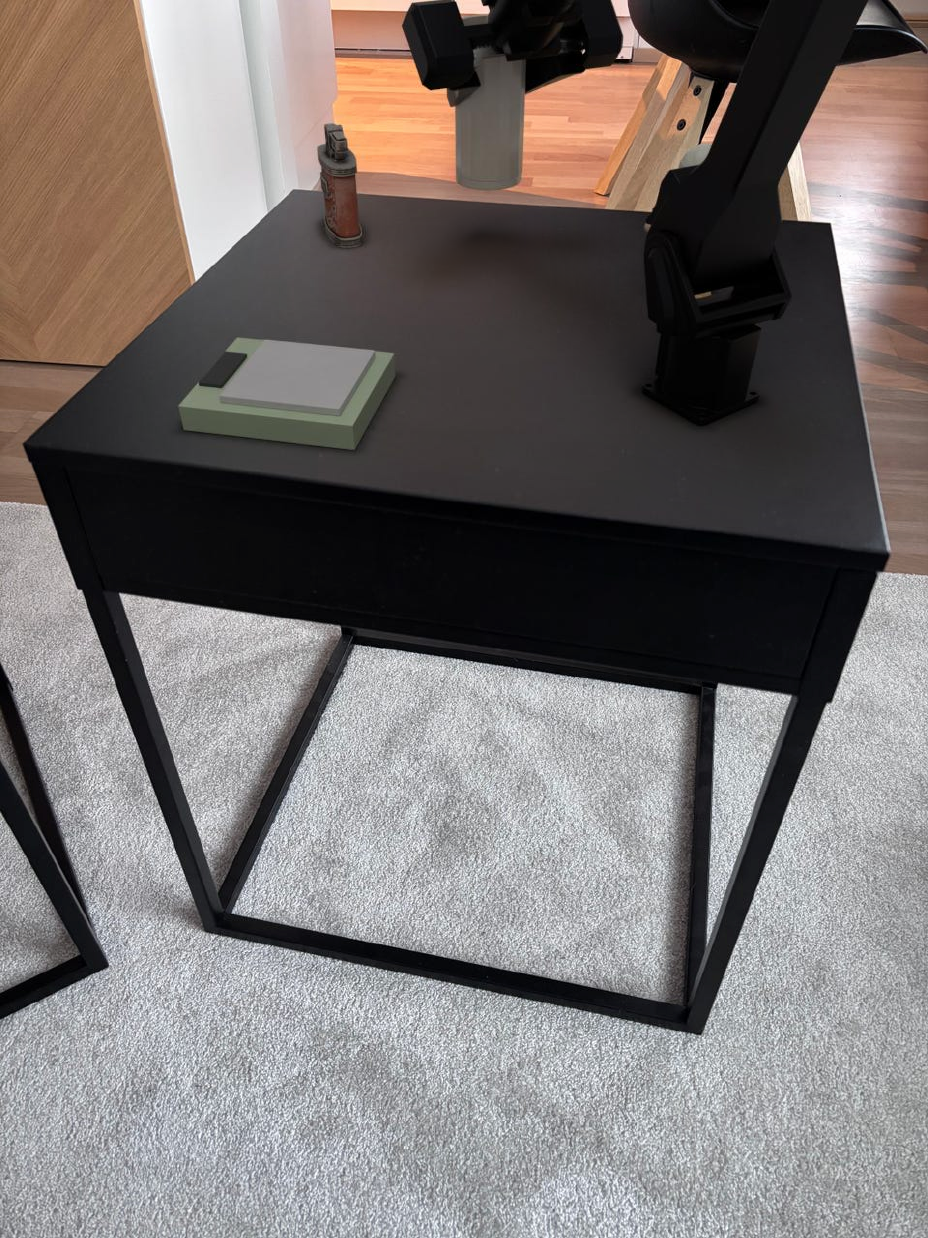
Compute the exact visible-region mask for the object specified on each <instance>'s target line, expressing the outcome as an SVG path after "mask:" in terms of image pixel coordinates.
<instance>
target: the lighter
mask: <svg viewBox="0 0 928 1238" xmlns="http://www.w3.org/2000/svg"><path fill="white" fill-rule="evenodd" d="M323 130H324V131H323V132H324V141H325V143H323V144H320V145H318V146H317V149H316V151H317V161H318V163H319V166H320V172H319V180H320V188H321V192H322V193H323V201H324V211H325V213H324V217H323V221H324V229H325V233H326V235H327V237H328V238H329V240H330V241H332V242H333V244H335V245H336V246H337V247H340V248H345V249H346V248H356V247H359V246H361V245H362V244H363V232H362V230H363V229H362V226H361V224H360V217H359V206H358V205H359V204H358V191H357V180H356V174H357V173H358V164H357V157H356V155H355V153H354V152H353V151H352V150H351V149H350V148H349V147H348V145H349V144H348V138H347V137H346V136H345V132H344V129H343V125H342V124H336V123H333V122H332V123H331V122H330V123H324V124H323Z"/></svg>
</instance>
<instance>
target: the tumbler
mask: <svg viewBox="0 0 928 1238" xmlns="http://www.w3.org/2000/svg"><path fill="white" fill-rule="evenodd" d="M487 16H488V14H476V15H475V14H474V15H473V14H472V15H467V16H463V17H462V16H461V17H462V20H463V23H464V26H470V25H479V24H488V22H487ZM476 72H477V74H478V77H479V80H480V83H481V86H480V87H479V88H478V89H477V90H476V91H474V92H473V93H472V94H471V95H469V96H468V97H467V98H466V99H465V100H463V101H462V102H461V103H459V104H458V105H456V106H455V107H454V135H455V136H454V142H455V143H454V144H455V145H454V146H455V147H454V149H455V150H454V151H455V152H454V153H455V154H454V155H455V181H456V183H457V184H458V185H460V186H462V187H464V188H467V189H471V190H477V191H500V190H506V189H510V188H514V187H516V186H517V185H519V184H521V182H522V176H523V175H522V174H523V159H524V131H525V130H524V129H525V106H526V105H525V101H526V95H525V75H526V59H525V60H517V61H509V62H507V59H506V56H503V57H495V58H487V59H482V60H481V63H480V65H479V67H477V69H476Z"/></svg>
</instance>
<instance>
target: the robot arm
mask: <svg viewBox="0 0 928 1238" xmlns="http://www.w3.org/2000/svg"><path fill="white" fill-rule="evenodd" d="M480 2H481V5H482V6H483V7H488V9H489V12H488V14H487V15H488V16H487V22H488V24H479V25H470V26H464V23H463V20H462V15H461V11H460V8H459V6H458V2H457V1H456V0H425V1H417V2H411V3H410V5H409V7H408V8H407V11H406V14H405V16H404V19H403V22H402V25H401V29H402V30H403V33H404V36H405V40H406V42H407V45H408V49H409V51H410V54H411V57H412V60H413V63H414V65H415V69H416V71H417V74H418V77H419V80H420V83H421V85H422V86H423V87H424V88H426V89H427V90H429V91H431V92H432V91H437V90H445V89H446V99H447V102H448V104H449V107H450V108H455V106H456V105H458V104H459V103H461V102H462V101H463V100H465V99H466V98H467V97H468V96H469V95H471V94H472V93H473V92H474V91H476V90H477V89H478V88H479V87H480V86H481V83H480V80H479V77H478V74H477V72H476V69H477V67H479V65H480V63H481V60H482V59H487V58H495V57H503V56H506V59H507V62H509V61H517V60H525V59H526V75H525V96H527V95H529V94H531V93H532V92H535V91H538V90H540V89H542V88H545V87H547V86H550V85H552V84H555V83H558V82H560V81H563V80H566V79H568V78H570V77H573V76H575V75H581V74H583V73H584V72H586V70H592V69H599V68H600V69H601V68H607V67H611V66H612V65H613V64H614V62H615V61H616V59H617V58H618V56H619V55H620V54H621V52H622V49H623V47H624V38H625V37H624V34H623V29H622V28H621V25H620V21H619V19H618V16H617V13H616V10H615V6H614V4H613V1H612V0H480ZM868 2H869V0H770V1H769V3H768V6H767V8H766V10H765V12H764V15H763V18H762V20H761V22H760V25H759V28H758V30H757V33H756V35H755V37H754V40H753V42H752V44H751V47H750V49H749V52H748V55H747V57H746V59H745V62H744V64H743V67H742V69H741V71H740V74H739V77H738V79H737V81H736V84H735V86H734V89H733V92H732V94H731V96H730V99H729V101H728V103H727V106H726V108H725V111H724V113H723V116H722V118H721V121H720V123H719V126H718V128H717V130H716V132H715V135H714V138H713V140H712V142H711V144H710V145H711V147H710V150H709V152H708V154H707V156H706V158H705V159H704V161H703V162H702V163H701V164H699V165H694V166H688V167H683V168H679V167H678V168H673V169H672V168H671V169H669V170H668V171H667V173H665V175H664V177H663V178H662V180H661V182H660V186H659V190H658V194H657V198H656V200H655V201H656V202H655V204H654V206H653V207H654V208H653V207H652V208H653V210H652V209H651V212H650V213H649V214H648V215H647V216H646V218H645V224H649V225H651V226H650V228H649V230H648V233H647V232H646V236H645V241H644V248H643V253H642V255H643V269H644V270H643V272H644V284H645V299H646V312H647V318H648V319H649V320H650V321H651V322H653V323H654V324H655V326H656V329H655V332H657V333H658V334H659V335H660V336H659V341H658V350H657V356H656V363H655V369H654V375H655V376H656V378H653V379H650V380H648V381H646V382H643V383H642V385H641V391H642V392H643V393H644V394H646V395H647V396H648V397H651V398H652V399H654V400H656V401H658V402H660V403H661V404H663V405H665V406H667V407H668V408H670V409H672V410H674V411H675V412H677V413H678V414H681V415H682V416H684V417H685V418H687V419H689V420H691V421H693V422H694V423H696V424H699V425H705V424H709V423H710V422H712V421H714V420H717V419H719V418H721V417H724V416H726V415H728V414H731V413H733V412H735V411H737V410H740V409H742V408H744V407H747V406H749V405H751V404H753V403H756V402H758V401H759V398H760V395H761V394H760V392H759V391H757V390H755V389H754V388H751V387H749V386H750V382H751V378H752V373H753V368H754V365H755V360H756V355H757V351H758V346H759V341H760V337H761V332H762V327H760V326H759V325H757V324H762V323H766V322H768V321H778V320H780V319H781V318H782V317H783V315H784V313H785V312H786V311H787V308H788V307H789V305H790V303H791V301H792V298H793V295H792V292H791V289H790V286H789V283H788V280H787V277H786V274H785V272H784V268H783V266H782V262H781V260H780V257H779V254H778V251H777V249H776V248H777V247H776V246H775V243H776V240H777V238H778V235H779V232H780V229H781V227H782V222H783V213H782V205H781V197H780V189H779V185H780V182H781V179H782V177H783V175H784V173H785V171H786V169H787V166H788V165H789V162H790V161H791V159H792V157H793V154H794V153H795V151H796V149H797V147H798V144H799V142H800V141H801V138H802V136H803V135H804V132H805V130H806V128H807V126H808V124H809V122H810V120H811V119H812V116H813V114H814V112H815V110H816V108H817V106H818V105H819V102H820V100H821V98H822V96H823V94H824V92H825V90H826V88H827V86H828V83H829V82H830V80H831V77H832V75H833V74H834V71H835V70H836V67H837V66H838V63H839V61H840V59H841V58H842V56H843V53H844V51H845V48H846V47H847V45H848V43H849V41H850V39H851V37H852V35H853V33H854V31H855V29H856V27H857V25H858V23H859V21H860V19H861V17H862V15H863V13H864V10H865V8H866V6H867V4H868ZM731 287H732V289H730V290H726V291H721V292H717V293H714V294H711V295H709V296H705V297H701V298H697V299H696V298H695V295H698V294H703V293H707V292H711V293H712V292H715V291H719V290H722V289H727V288H731Z"/></svg>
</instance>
